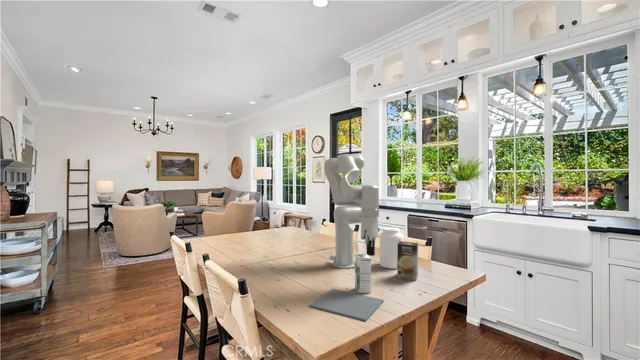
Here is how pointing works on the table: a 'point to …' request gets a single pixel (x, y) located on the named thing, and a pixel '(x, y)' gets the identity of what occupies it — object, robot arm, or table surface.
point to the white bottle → (389, 247)
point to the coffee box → (407, 260)
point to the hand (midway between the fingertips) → (370, 255)
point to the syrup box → (362, 273)
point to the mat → (348, 304)
